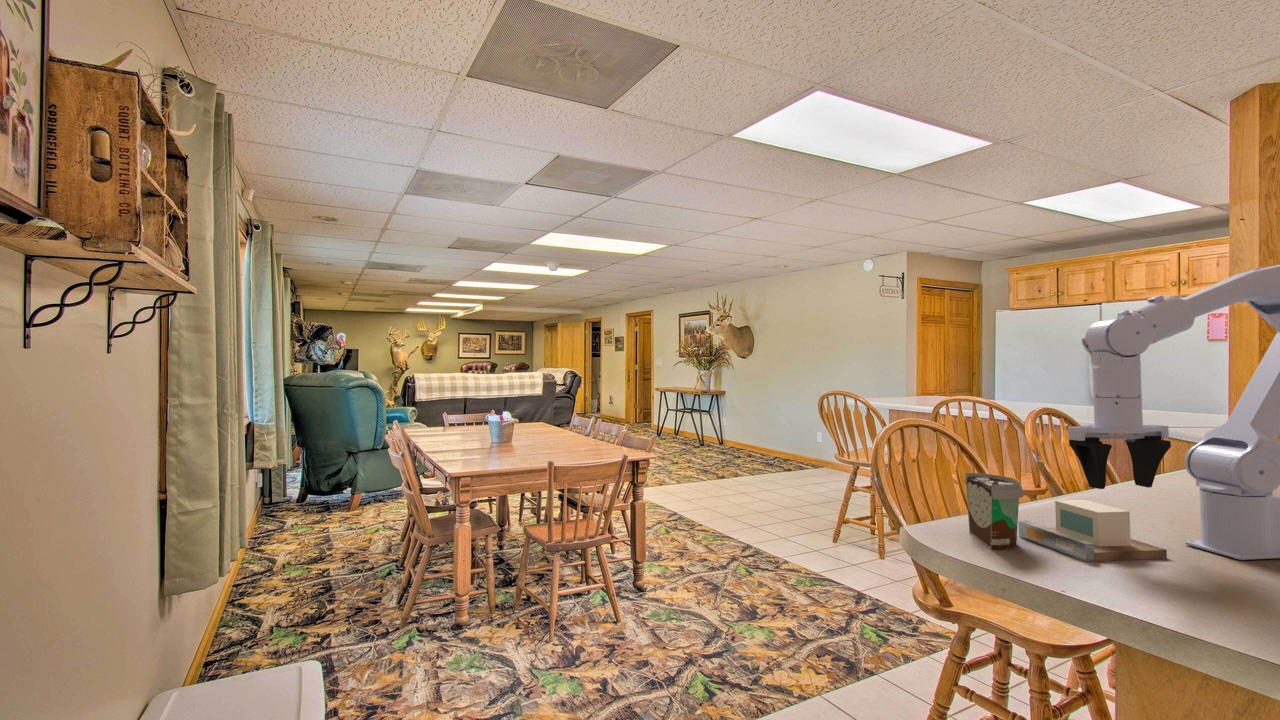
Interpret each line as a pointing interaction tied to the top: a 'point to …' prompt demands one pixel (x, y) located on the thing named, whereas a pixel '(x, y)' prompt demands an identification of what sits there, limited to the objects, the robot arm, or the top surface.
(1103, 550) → the shelf board
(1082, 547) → the price rail
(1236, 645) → the top surface
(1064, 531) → the carton
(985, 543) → the food container
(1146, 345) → the robot arm
